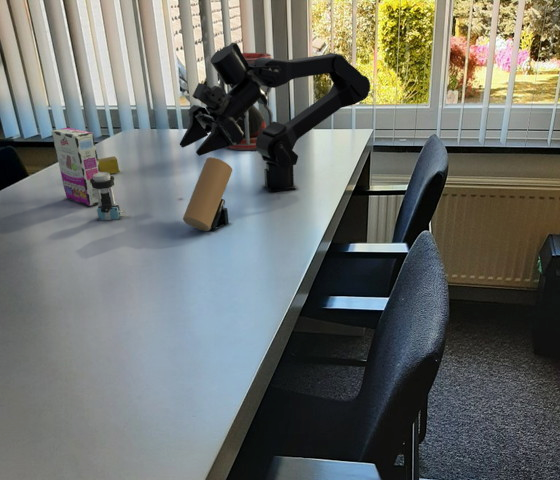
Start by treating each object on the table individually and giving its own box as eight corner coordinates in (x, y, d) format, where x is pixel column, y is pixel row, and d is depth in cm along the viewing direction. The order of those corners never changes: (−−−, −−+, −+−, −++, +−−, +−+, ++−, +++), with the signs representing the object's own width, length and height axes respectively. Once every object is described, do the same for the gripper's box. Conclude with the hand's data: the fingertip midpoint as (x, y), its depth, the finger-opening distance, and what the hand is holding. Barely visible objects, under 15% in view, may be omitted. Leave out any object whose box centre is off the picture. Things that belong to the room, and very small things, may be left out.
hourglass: (274, 149, 188) (270, 58, 174) (221, 151, 189) (213, 60, 175) (275, 137, 202) (272, 51, 188) (226, 139, 202) (219, 53, 188)
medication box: (76, 180, 169) (73, 166, 166) (74, 177, 171) (71, 163, 168) (120, 172, 173) (117, 158, 171) (117, 169, 175) (114, 155, 172)
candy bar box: (107, 201, 153) (94, 132, 143) (90, 207, 150) (75, 136, 140) (82, 193, 159) (68, 126, 150) (65, 198, 156) (49, 130, 147)
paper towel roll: (218, 214, 142) (212, 151, 134) (239, 218, 139) (235, 154, 132) (180, 234, 132) (171, 167, 124) (202, 239, 129) (195, 170, 122)
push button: (129, 213, 145) (121, 170, 139) (124, 221, 140) (116, 177, 135) (100, 214, 145) (92, 171, 139) (95, 222, 140) (86, 178, 135)
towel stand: (208, 220, 139) (205, 195, 136) (228, 223, 136) (226, 198, 133) (194, 227, 135) (191, 202, 132) (215, 231, 133) (212, 206, 130)
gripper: (199, 67, 142) (151, 114, 141) (237, 76, 128) (183, 128, 128) (226, 107, 149) (180, 152, 149) (264, 119, 136) (214, 169, 135)
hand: (188, 150), depth 140 cm, fingers open, 9 cm apart
